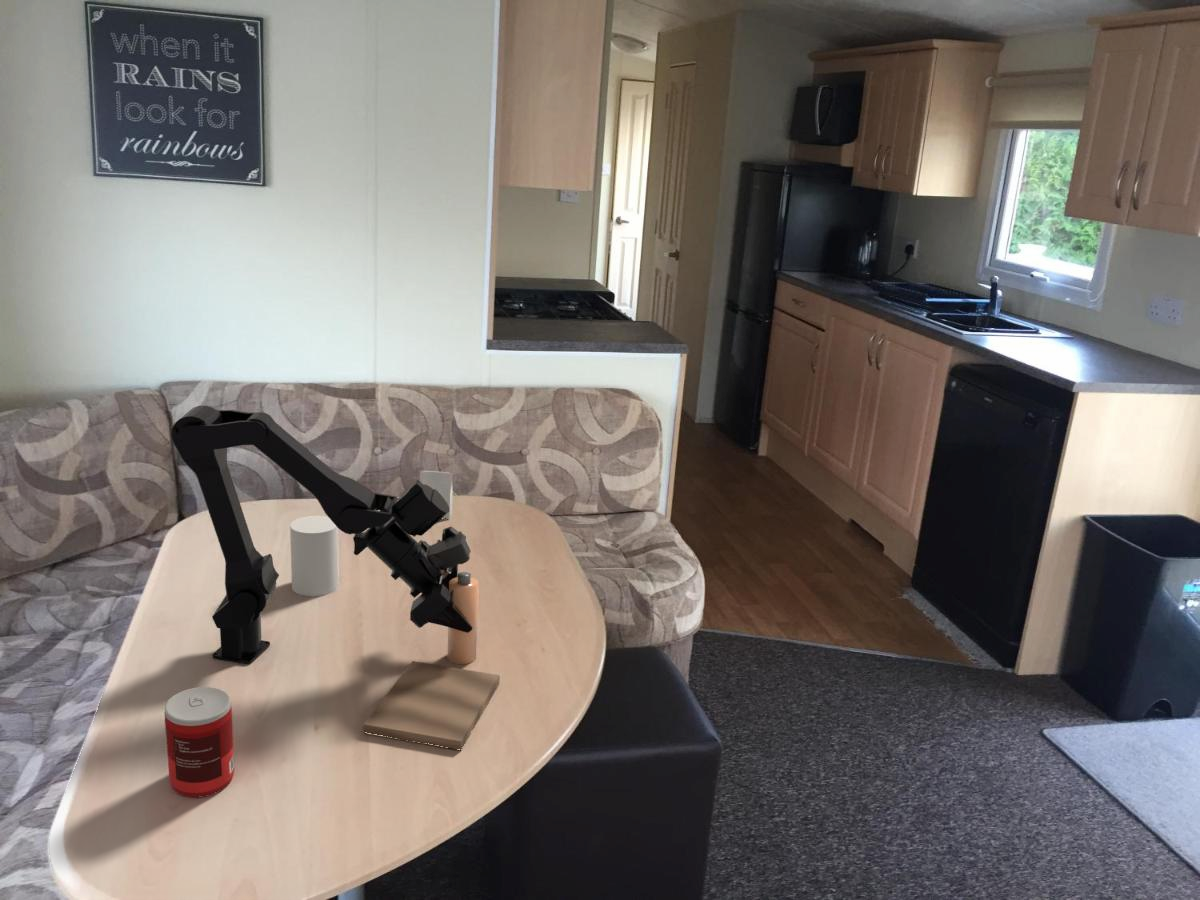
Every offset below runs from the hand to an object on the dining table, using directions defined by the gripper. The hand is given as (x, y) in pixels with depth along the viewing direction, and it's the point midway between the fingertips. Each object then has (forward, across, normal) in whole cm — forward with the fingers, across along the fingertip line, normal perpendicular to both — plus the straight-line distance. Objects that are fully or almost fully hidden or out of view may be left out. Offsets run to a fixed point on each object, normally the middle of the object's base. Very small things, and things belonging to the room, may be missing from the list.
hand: (471, 620), depth 157 cm
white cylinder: (-16, +24, +25) cm, 38 cm away
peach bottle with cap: (+4, 0, +6) cm, 7 cm away
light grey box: (-3, +61, +13) cm, 62 cm away
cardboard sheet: (+2, -15, +8) cm, 17 cm away
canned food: (-18, -32, +27) cm, 46 cm away
